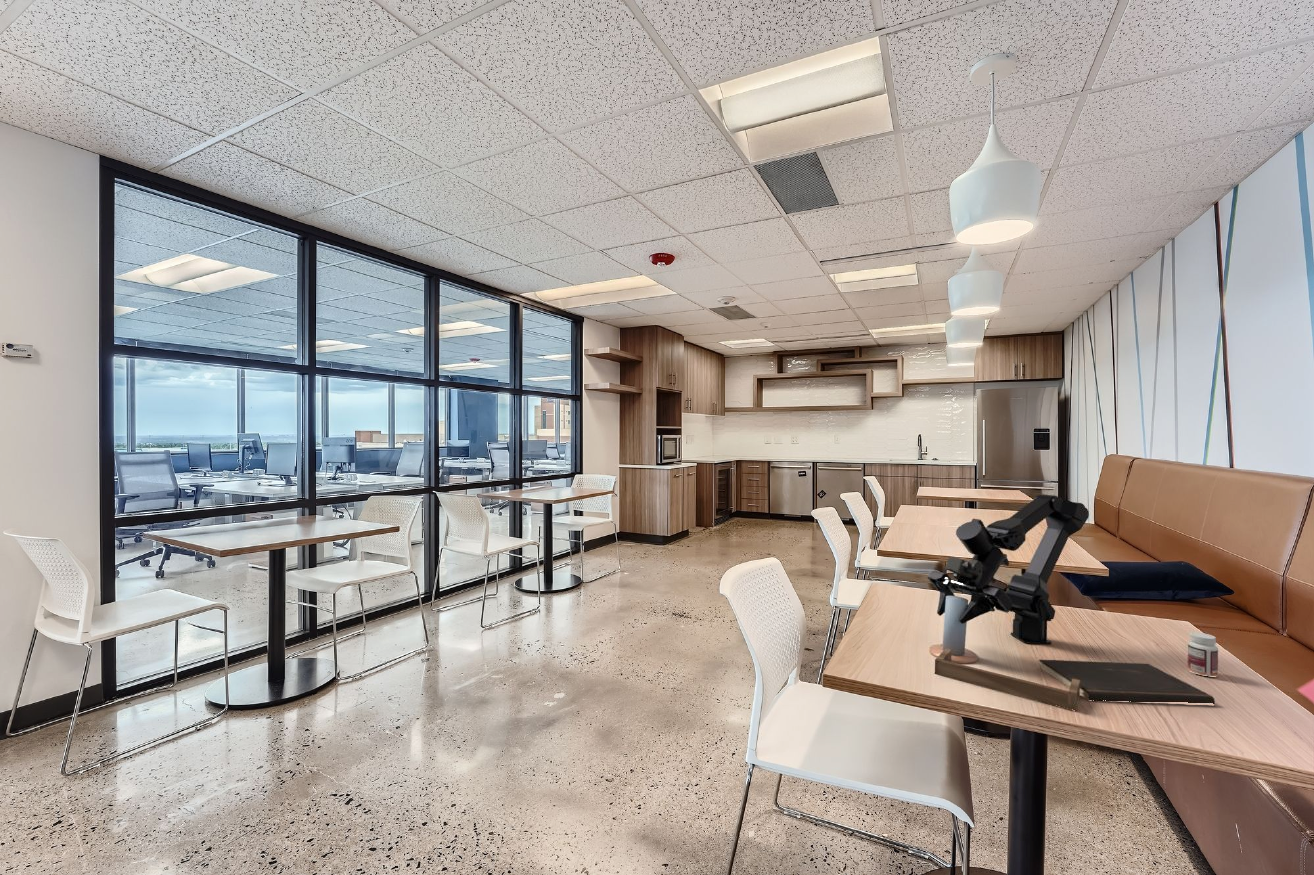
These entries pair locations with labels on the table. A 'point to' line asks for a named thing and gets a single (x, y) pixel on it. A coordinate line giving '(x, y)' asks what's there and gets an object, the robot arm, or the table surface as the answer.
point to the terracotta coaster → (964, 659)
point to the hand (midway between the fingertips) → (949, 618)
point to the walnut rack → (1008, 683)
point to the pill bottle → (1203, 654)
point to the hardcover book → (1124, 682)
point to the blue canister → (954, 625)
